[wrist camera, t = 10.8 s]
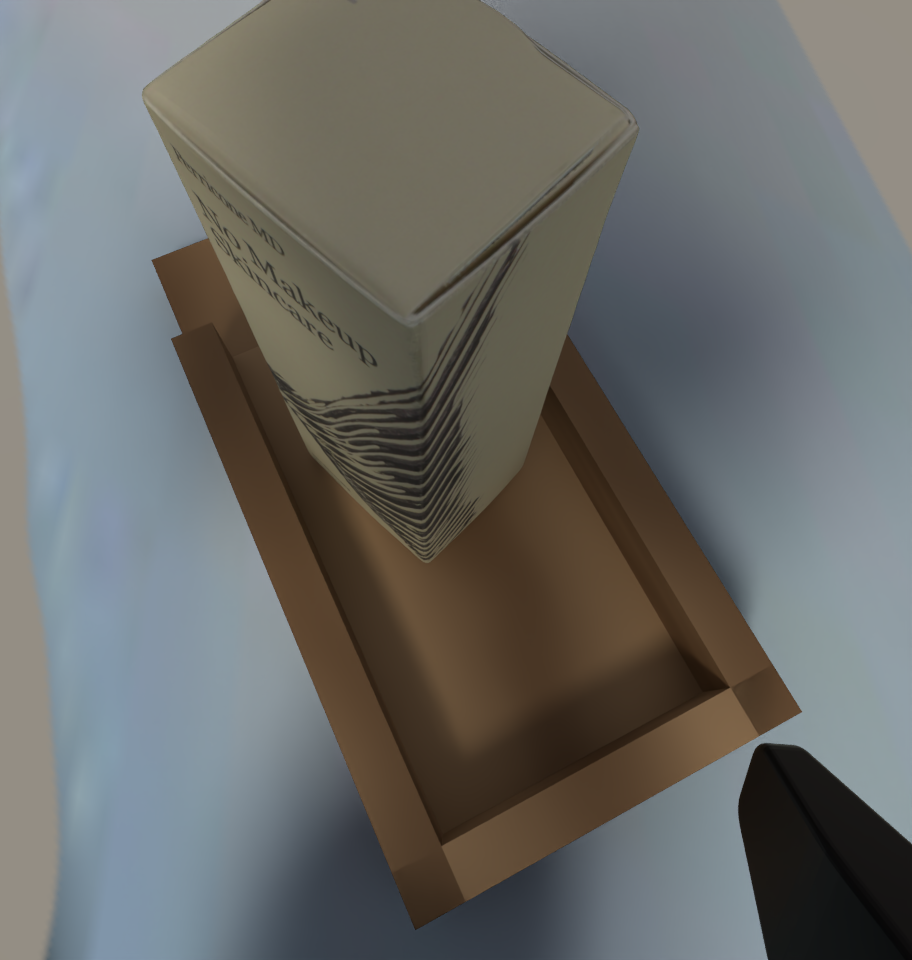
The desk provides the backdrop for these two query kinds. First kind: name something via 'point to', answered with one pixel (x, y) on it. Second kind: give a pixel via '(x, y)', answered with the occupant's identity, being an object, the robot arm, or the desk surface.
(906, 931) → the robot arm
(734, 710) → the tray
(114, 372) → the desk surface
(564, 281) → the box
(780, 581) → the desk surface
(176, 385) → the desk surface
